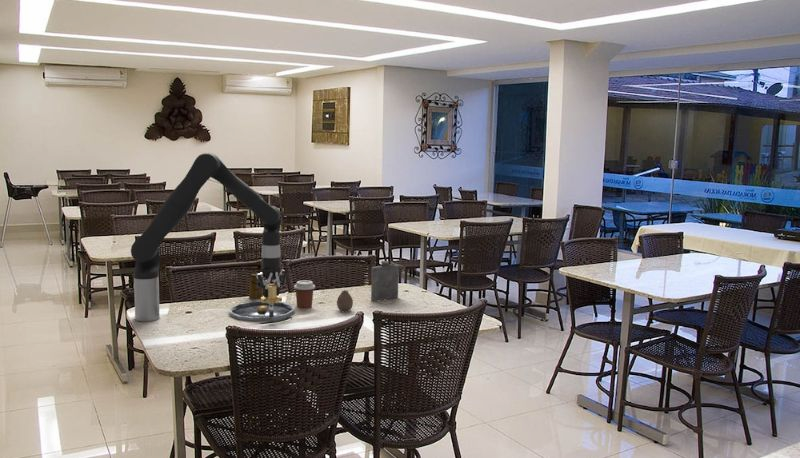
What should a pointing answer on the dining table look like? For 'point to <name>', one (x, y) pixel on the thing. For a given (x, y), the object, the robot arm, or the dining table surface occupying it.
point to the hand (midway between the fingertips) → (271, 296)
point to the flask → (384, 281)
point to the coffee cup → (304, 293)
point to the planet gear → (272, 295)
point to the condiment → (254, 288)
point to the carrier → (262, 311)
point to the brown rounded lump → (344, 301)
